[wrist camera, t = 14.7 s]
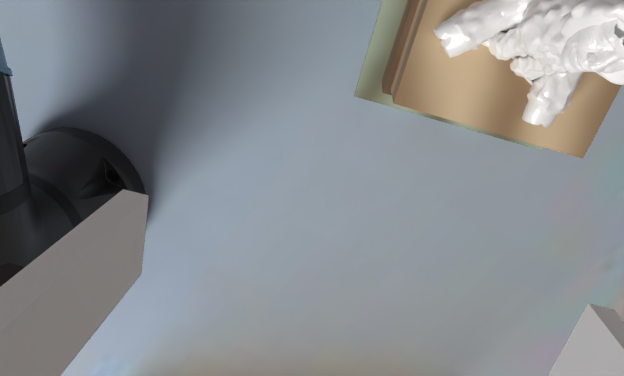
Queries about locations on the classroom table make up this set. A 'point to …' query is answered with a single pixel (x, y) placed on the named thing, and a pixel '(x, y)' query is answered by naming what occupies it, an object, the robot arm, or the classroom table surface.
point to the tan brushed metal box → (468, 82)
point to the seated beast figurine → (543, 45)
